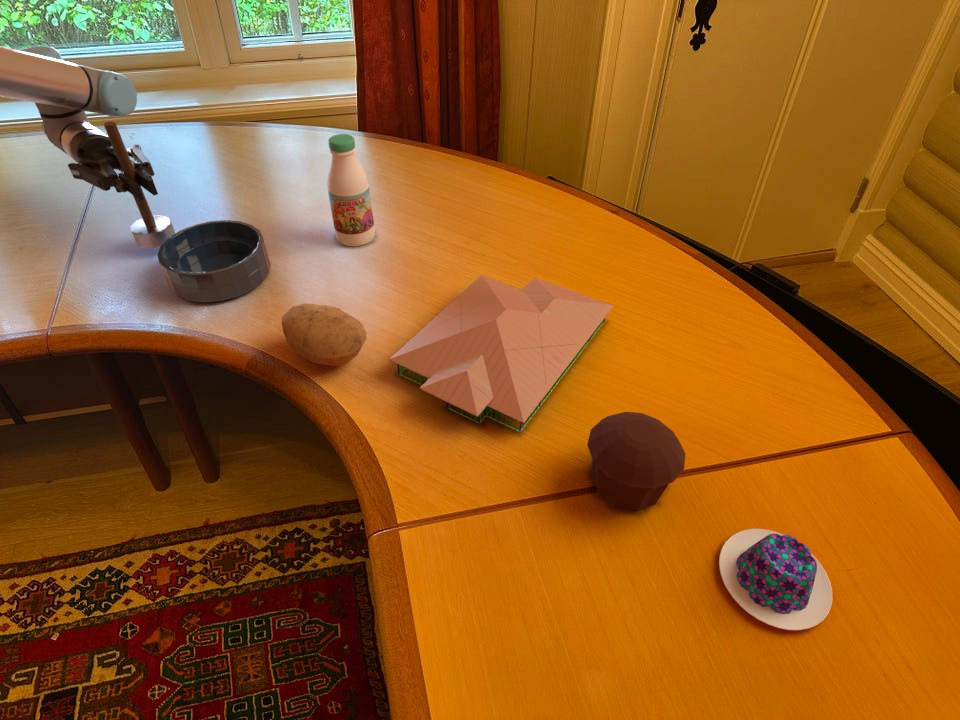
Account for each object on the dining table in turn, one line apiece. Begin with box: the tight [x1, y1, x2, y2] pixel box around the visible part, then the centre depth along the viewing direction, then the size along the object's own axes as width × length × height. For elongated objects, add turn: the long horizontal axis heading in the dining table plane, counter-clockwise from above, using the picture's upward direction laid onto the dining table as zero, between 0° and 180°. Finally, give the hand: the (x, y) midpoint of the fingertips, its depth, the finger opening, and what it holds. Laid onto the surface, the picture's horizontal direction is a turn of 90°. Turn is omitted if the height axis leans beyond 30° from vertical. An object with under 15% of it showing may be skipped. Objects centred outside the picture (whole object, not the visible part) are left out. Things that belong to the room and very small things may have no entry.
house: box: [388, 274, 615, 433], centre depth 93 cm, size 23×33×8 cm
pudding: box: [718, 528, 833, 631], centre depth 66 cm, size 12×12×5 cm
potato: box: [281, 303, 367, 367], centre depth 92 cm, size 10×14×8 cm
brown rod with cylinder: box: [103, 121, 176, 249], centre depth 108 cm, size 7×7×22 cm
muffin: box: [586, 411, 686, 512], centre depth 74 cm, size 12×11×10 cm
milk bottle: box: [326, 133, 376, 247], centre depth 113 cm, size 8×8×20 cm
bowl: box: [157, 219, 272, 303], centre depth 108 cm, size 17×17×6 cm
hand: (146, 190), depth 104 cm, fingers closed on brown rod with cylinder, 2 cm apart
